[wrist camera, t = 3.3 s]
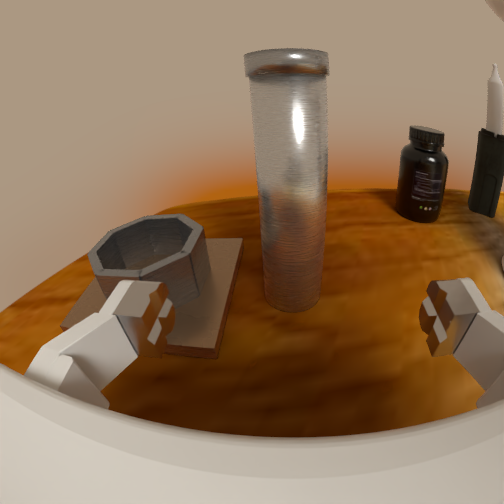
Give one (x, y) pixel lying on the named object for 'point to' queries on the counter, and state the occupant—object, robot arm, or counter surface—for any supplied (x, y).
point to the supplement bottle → (422, 175)
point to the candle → (489, 153)
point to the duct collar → (168, 277)
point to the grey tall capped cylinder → (290, 170)
